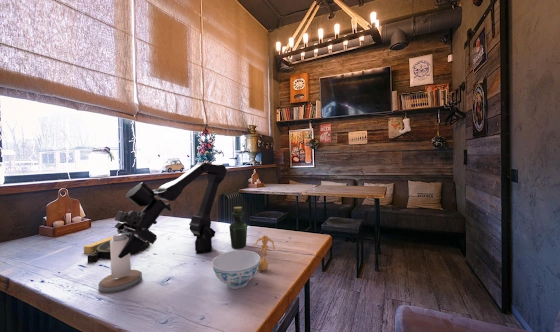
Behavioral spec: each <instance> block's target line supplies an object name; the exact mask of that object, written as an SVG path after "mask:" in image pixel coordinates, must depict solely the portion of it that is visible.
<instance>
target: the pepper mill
mask: <svg viewBox="0 0 560 332" xmlns="http://www.w3.org/2000/svg"><path fill="white" fill-rule="evenodd" d="M112 237H113V239H112V240H110V252H111V259H110V268H111V269H110V273H111V274H110V275H111V277H112V278H121V277H125V276H127V275H129V274H130V273H131V270H132V269H131V268H132V265H131V264H132V263H131V255H130V253H129V254H128V255H126V256H124V257H123V258H119V257H118V256H119V254H120V252H121V251H122V249H123V248H124V246H125V245H126V244H127V242H128V241H129V237H127V234H126V233H119V234H118V233H115V234H113V235H112Z"/></svg>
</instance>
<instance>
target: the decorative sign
mask: <svg viewBox="0 0 560 332" xmlns="http://www.w3.org/2000/svg"><path fill="white" fill-rule="evenodd" d="M112 239H113V236H109V237H106V238H102V239H100V240H98V241H94V242H92V243H88V244H85V245H84V246H83V253H84V254H87V263H88V264H92V263H93V262H94V263H97V262H98V261H99V260H101V259H100V258H102V260H103V259H104V260H111V252H110V240H112ZM146 243H147V244H146V245H143V246H141V247H139V248H138V249H136V250H134V251H132V252H131V253H130V256H132V255H135V254H139V253H141V252H143V251H145V250H146V249H148V248H149V247H150V245H151V243H148V241H146ZM95 251H96V252H95ZM93 252H94V253H93ZM89 262H90V263H89Z"/></svg>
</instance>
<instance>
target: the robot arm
mask: <svg viewBox="0 0 560 332" xmlns="http://www.w3.org/2000/svg"><path fill="white" fill-rule="evenodd" d="M227 172H228V170H227V167H226V166H225V165H224V164H212V163H208V162H203V161H202V162H197V163H196V164H195V165H194V166H192V167H191V168H190V169H188V170H187V171H186V172H184V173H182V175H181V176H178V178H176V179H174V180H171V181H168V182H166V183H164V184H162V185H160V186H159V187H158V188H157V189H152V188H150V187H149V186H148V185H147V184H146V183H145V182H139V183H138V184H137V185H135V186H134V187H132V188H130V189H129V190H128V192H126V194H125V198H127V199H128V200H130V201H131V202H133V204H135V205H136V206H138V207H139V208H140V207H144V208H143V209H142V210H141V211H134V210H129V211H128V212H124V211H121V210H118V211H117V213H116V215H115V218H114V221H117V223H116V224H115V225H114V228H116V232H117V234H119V233H126V234H127V237H129V241H128V242H127V244H126V245H125V246H124V248H123V249H122V251H121V252H120V254H119V256H118V257H119V258H123V257H124V256H126V255H128V254H129V253H131V252H132V251H134V250H136V249H138V248H139V247H141V246H143V245H146V244H147V243H146V241H148V243H150V245H154V243H155V242H156V241H157V239H158V238H157V235H156V233H154V232H152V231H151V230H150V229H151V228H152V226H153V225H156V224H157V223H158V221H157V219H158V218H159V217H160V216H161V215H162V213H163V212H164V211H166V212H167V211H168V212H171V211H172V210H171V209H172V208H171V203H169V202H173V201H175V200H177V198H179V197H180V196H181V195H182V193H183V191H184V189H185V188H186V187H187V186H189V185H190V184H191V183H193V182H194V181H195V180H196V179H197V178H199V177H200V176H202V175H203V174H206V176H207V185H206V188H205V192H204V195H203V198H202V200H201V204H200V207H199V210H198V212H197V214H196V215H192V216H191V219H190V222H189V230H190V232H191V234H192V235H193V237H196V238H195V240H194V249H195V254H197V255H198V254H205V253H212V252H213V244H212V243H213V238H214V237H215V235H216V231H215V230H214V229H213V228H212V227H211V225H212V219H211V213H212V210H213V205H214V202H215V199H216V196H217V192H218V189H219V186H220V184H221V183H222V182H223V181H224V179H225V178H226V175H227ZM165 201H167V203H166V202H165Z"/></svg>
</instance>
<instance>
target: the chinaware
mask: <svg viewBox="0 0 560 332" xmlns="http://www.w3.org/2000/svg"><path fill="white" fill-rule="evenodd" d="M260 258H261V256H260V255H259V254H258V253H257V252H255V251H252V250H244V249H243V250H242V249H236V250H231V251H227V252H223V253H221V254H218V255H217V256H215V257H214V258H213V260H212V262H211V266H212V269H213V272H214V274H215V276H216V278H217V279H218V280H219V281H220V282H222V283H224V285H226V287H227V288H229V289H231V290H232V289H233V290H237V289H242V288H245V286H247V285H248V283H249V281H251V280H252V279H253V277H254V276H255V275H256V273H257V272H258V270H259V269H258V267H259V263H260Z"/></svg>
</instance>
